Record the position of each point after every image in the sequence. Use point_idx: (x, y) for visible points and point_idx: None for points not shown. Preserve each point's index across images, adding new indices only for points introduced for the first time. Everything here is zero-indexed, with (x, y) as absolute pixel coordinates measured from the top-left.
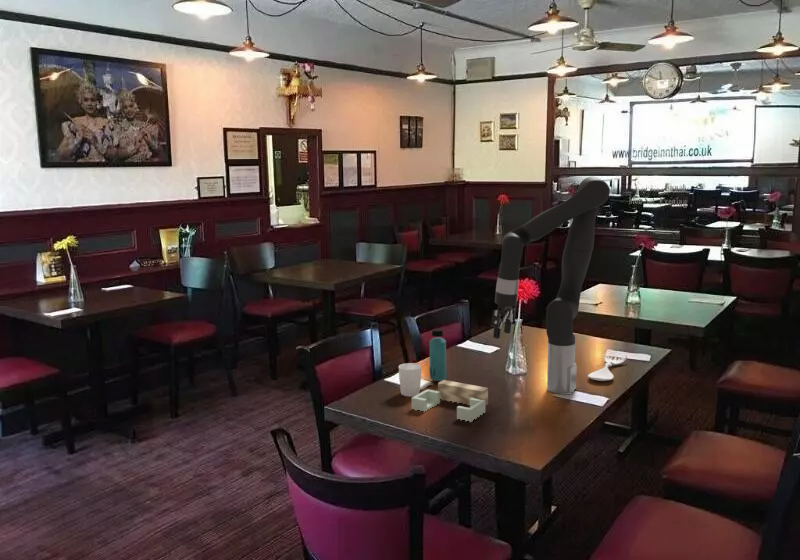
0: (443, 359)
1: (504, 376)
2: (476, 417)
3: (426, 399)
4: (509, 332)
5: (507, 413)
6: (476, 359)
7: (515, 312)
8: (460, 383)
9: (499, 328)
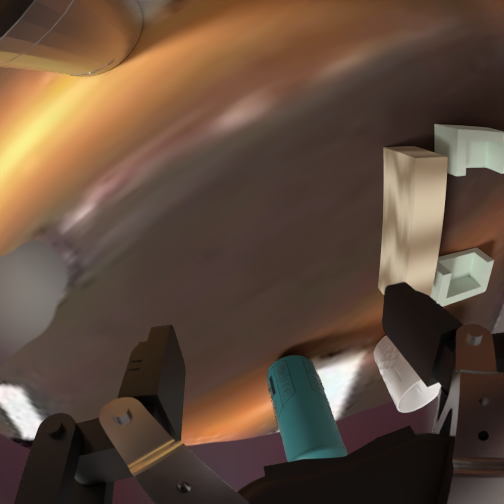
0: (312, 402)
1: (106, 266)
2: (472, 126)
3: (488, 261)
4: (169, 327)
5: (410, 64)
6: (72, 391)
7: (21, 497)
8: (412, 260)
9: (474, 326)
